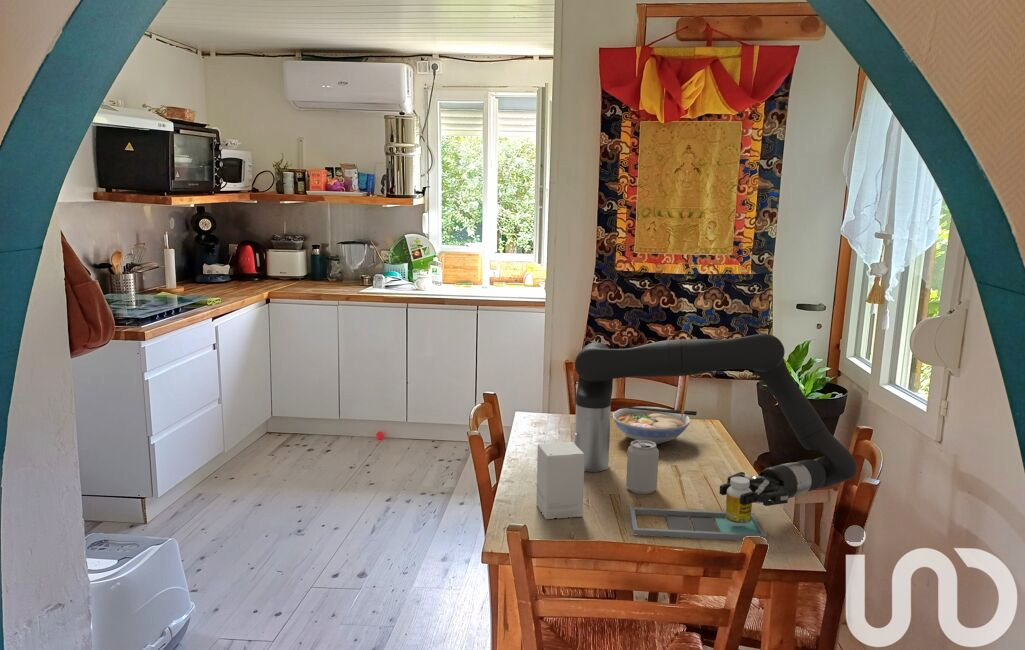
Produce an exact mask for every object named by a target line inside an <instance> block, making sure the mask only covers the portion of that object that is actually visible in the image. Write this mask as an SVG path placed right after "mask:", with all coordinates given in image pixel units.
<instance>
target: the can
mask: <svg viewBox="0 0 1025 650" xmlns="http://www.w3.org/2000/svg"><path fill="white" fill-rule="evenodd" d="M659 451H660V450H659V449H658V448H657V444H655V443H654V442H651V441H647V440H635V439H634V440H633V441H631V442H630V446H628V447H627V457H626V460H627V461H626V462H627V463H626V481H625V482H626V484H625V485H626V486H625V487H626V488H627V489H628V490H629V491H630V492H632V493H634V494H638V495H649V494H652V493H654V491H656V490H657V488H658V474H659V453H660V452H659Z"/></svg>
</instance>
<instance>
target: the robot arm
mask: <svg viewBox="0 0 1025 650" xmlns="http://www.w3.org/2000/svg"><path fill="white" fill-rule="evenodd" d="M784 358H785V346H784V344H783V343H782V341H781V340H780V339H779V338H778V337H776V336H775V335H773V334H769V333H758V334H757V333H756V334H752V335H746V336H742V337H741V336H740V337H733V338H726V339H723V338H722V339H712V338H709V339H708V338H693V339H692V338H687V339H686V338H685V339H684V338H682V339H667V340H666V339H665V340H659V341H655V342H651V343H647V344H642V345H638V346H635V347H629V348H609V347H608V346H607V345H606V344H604V343H601V342H597V341H596V342H591V343H588V344H587V345H585V346H583V348H581V350H580V351H579V352H578V354H577V355H576V358H575V360H574V369H575V372H576V373H577V375H578V379H577V380H578V383H577V389H576V394H575V422H574V424H575V425H574V444H575V445H576V446H577V447H578V448H579V449H580V450H581V451H582V452H583V453H584V454H585V461H584V472H589V473H591V472H594V473H595V472H596V473H598V472H604V471H606V470H608V469H609V467H610V465H609V462H610V439H611V437H610V435H611V432H610V431H611V414H612V413H611V410H612V409H611V408H612V395H613V387H614V385H613V384H614V380H615V379H621V378H623V379H624V378H629V377H630V378H631V377H633V378H634V377H638V378H639V377H643V378H644V377H645V378H646V377H647V378H653V377H654V378H659V377H661V378H663V377H683V376H684V377H685V376H694V375H700V374H706V373H710V372H715V371H716V372H717V371H721V370H728V369H729V370H731V369H732V370H734V369H736V370H738V369H739V370H752V371H754V372H755V373H756V374H757V376H758V377H759V378H760V379H761V380H762V382H763V383H764V385H765V386H766V387H767V388H768V390H769V391H770V393H771V394H772V396H773V398H774V399H775V401H776V402H777V403H776V404H778V406H779V409H780V410H781V412H782V414H783V415H784V417H785V419H786V421H787V423H788V425H789V426H790V428H791V429H792V432H794V435H795V437H797V440H798V441H799V443H800V445H801V446H802V447H803V448H804V449H805V450H808V451H812V450H814V451H815V450H816V451H818V452H819V453H821V454H822V455H823V456H820V457H818V458H815V459H805V460H799V461H796V462H787V463H781V464H779V465H778V464H777V465H774V466H770V467H766V468H764V469H763V470H762V471H761V472H760V473H759V475H752V476H746V473H745V472H744V471H739V472H736V473H734V474H733V475H730V476H728V477H727V479H726V480H727V481H726V483H724V484H720V485H719V495H721V496H727V489H728V488H729V487H730V486H731V485H730V480H731V478H732V477H744V478H747V479H749V480H750V486H749V489H750V490H751V491H752V492H749V493H745V494H742V495H741V496H740V504H742V505H746V504H750V503H752V504H753V503H755V504H761V503H762V505H763V506H765V507H768V506H769V507H770V506H776V505H782V504H788V502H789V499H791V498H795V497H798V496H801V495H802V494H805V493H808V492H811V491H815V490H818V489H824V488H829V487H832V486H835V485H838V484H840V483H844V482H846V481H849V480H851V479H853V478H855V476H856V475H857V471H858V466H857V465H858V464H857V462H856V459H855V458H854V456H853V454H852V453H851V452H850V451H849V450H848V449H847V448H846V447H845V446H844V445H843V444H842V443H841V442H840V441H839V440H838V439H837V438H836V437H835V436H834V435H833V434H832V433H831V432H830V431H829V430H828V428H827V426H826V424H825V423H824V422H823V420H822V418H821V417H820V415H819V413H818V412H817V410H816V409H815V407H814V405H813V404H812V403H811V402H810V401H809V399H808V398H807V397H806V395H805V394H804V393H803V391H802V390H801V388H800V387H799V386H798V384H797V382H796V381H795V380H794V378H793V376H792V374H791V371H790V370H789V368H788V366H787V364H786V361H785V359H784Z"/></svg>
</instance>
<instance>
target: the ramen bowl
mask: <svg viewBox="0 0 1025 650" xmlns="http://www.w3.org/2000/svg"><path fill="white" fill-rule="evenodd" d="M612 408H620V409H618V410H615V411H614V412H612V418H613V421H614V423H615V424H616V426H617V428H618V429H619V430H620V431H621V433H624V434H625V436H628V438H630V439H632V440H634V441H635V440H647V441H651V442H654V443H655V444H656V445H658V444H660V445H661V444H663V443H665V442H669V441H672V440H674V439H677V438H678V437H679V436H680V435H681V434H682V433H683V432H684V431H685V430H686V429H687V428H688V426H689V425H690V423H691V419H690V418H691V417H690V416H697V410H679V409H669V408H663V407H656V406H617V405H612ZM688 415H689V416H688Z"/></svg>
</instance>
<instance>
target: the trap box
mask: <svg viewBox="0 0 1025 650" xmlns="http://www.w3.org/2000/svg"><path fill="white" fill-rule="evenodd" d="M628 510H629V518H630V523H631V524H632V525H631V530H632V535H633V534H637V535H636V536H641V535H655V536H654V537H662V536H674V537H673V538H683V537H686V539H690V538H691V539H703V538H704V539H708V540H725V541H726V540H727V541H744V540H743V538H744V537H746V536H760V537H763V538H765V539H766V540H767V541H768V540H769V539H768V538H769V535H768V533H766V531H765V529H764V528H763V526H762V524H761V522H760V520H759V518H758V517H757V515H756V513H755V512H751V521H750V523H749V524H748V525H745V526H737V525H733V524H730V523H728V522H727V521H726V510H725V511H722V510H721V511H720V510H701V509H699V510H698V509H677V508H675V509H674V508H654V507H638V506H637V507H636V506H634V507H633V506H632V507H631V506H629V509H628ZM636 515H646V516H664V517H665V520H666V524H667V527H668V529H666V528H664V529H663V528H648V527H647V528H646V527H645V528H643V527H639V526H638V522H637V516H636ZM688 516H690V517H688ZM693 529H694V530H693Z"/></svg>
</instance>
